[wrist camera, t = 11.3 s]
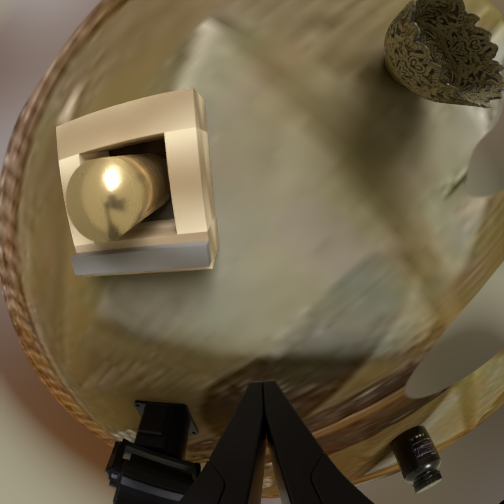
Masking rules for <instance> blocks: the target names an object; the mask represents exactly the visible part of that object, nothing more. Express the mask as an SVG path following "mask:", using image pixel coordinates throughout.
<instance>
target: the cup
mask: <svg viewBox="0 0 504 504" xmlns="http://www.w3.org/2000/svg"><path fill="white" fill-rule="evenodd" d="M465 11H466V10H465V5H464V2H463V0H411V1H410V2H409V3H408V4H407V5H406V6H405V7H404V8H403V10H402V11H401V12H400V13H399V14H398V15H397V16H396V18H395V19H394V20H393V21H392V23H391V25H390V26H389V28H388V30H387V33H386V36H385V53H386V55H385V65H386V68H387V71H388V73H389V74H390V76H391V77H392V78H393V79H394V80H395V81H396V82H397V83H399V84H400V85H402V86H404V87H407V88H408V89H409V90H410V91H412V92H413V93H415V94H416V95H418V96H420V97H422V98H424V99H427V100H431V101H434V102H440V103H447V104H457V105H468V106H477V107H483V108H491V105H490V104H488V103H490V101H491V100H494V99H501V98H502V97H503V96H502V95H501V93H500V92H501V91H503V90H504V79H503V77H502V76H501V75H500V74H499V71H502V70H503V69H504V65H503V64H501V63H500V62H499V61H494V60H492V58H494V57H495V56H496V53H497V51H498V46H497V45H496V44H494V43H491V42H489V41H490V40H491V36H492V34H491V32H490V31H488V30H486V29H484V28H481V27H476V26H475V24H476V23H477V22H478V21H480V17H479V16H477V15H476V14H471V13H470V14H468V13H467V12H465ZM499 75H500V76H499Z"/></svg>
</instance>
